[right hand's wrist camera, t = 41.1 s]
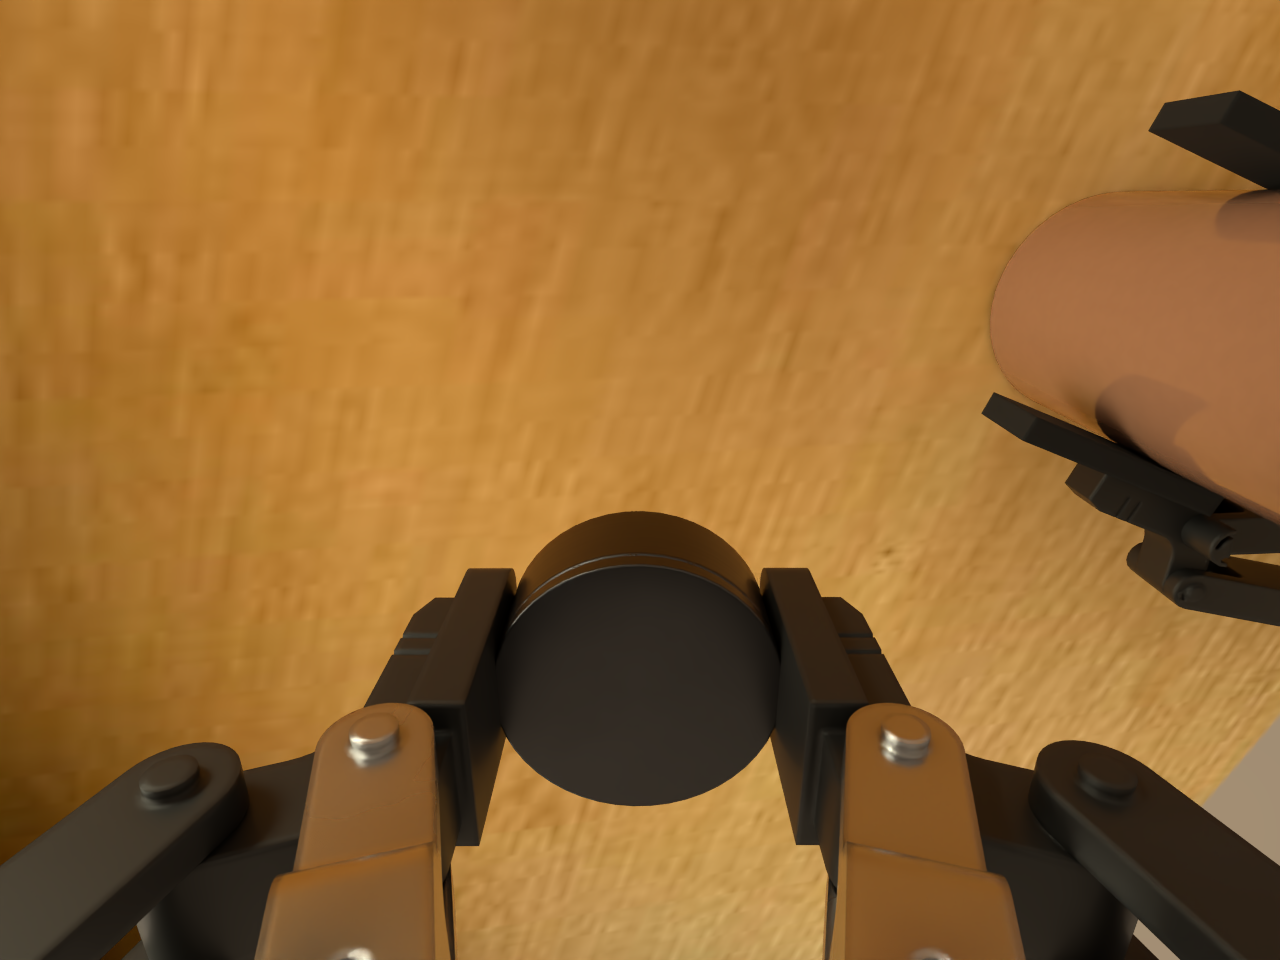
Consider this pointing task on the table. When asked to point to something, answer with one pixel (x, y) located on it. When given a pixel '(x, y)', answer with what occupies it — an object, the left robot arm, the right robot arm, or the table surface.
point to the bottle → (1157, 330)
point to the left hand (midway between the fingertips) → (1092, 275)
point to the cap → (638, 661)
